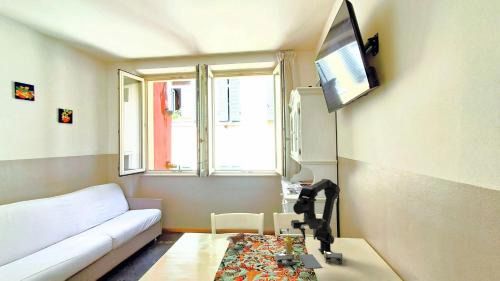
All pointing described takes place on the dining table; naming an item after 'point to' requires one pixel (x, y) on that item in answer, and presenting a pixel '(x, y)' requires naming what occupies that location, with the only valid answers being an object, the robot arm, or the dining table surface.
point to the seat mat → (310, 261)
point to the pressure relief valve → (287, 245)
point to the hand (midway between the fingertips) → (309, 239)
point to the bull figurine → (236, 238)
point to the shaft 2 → (333, 257)
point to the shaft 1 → (285, 258)
